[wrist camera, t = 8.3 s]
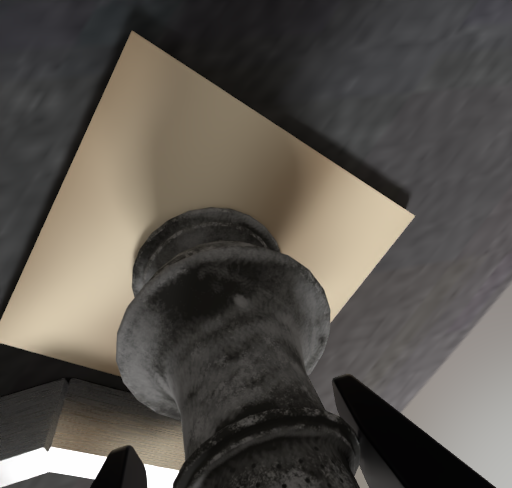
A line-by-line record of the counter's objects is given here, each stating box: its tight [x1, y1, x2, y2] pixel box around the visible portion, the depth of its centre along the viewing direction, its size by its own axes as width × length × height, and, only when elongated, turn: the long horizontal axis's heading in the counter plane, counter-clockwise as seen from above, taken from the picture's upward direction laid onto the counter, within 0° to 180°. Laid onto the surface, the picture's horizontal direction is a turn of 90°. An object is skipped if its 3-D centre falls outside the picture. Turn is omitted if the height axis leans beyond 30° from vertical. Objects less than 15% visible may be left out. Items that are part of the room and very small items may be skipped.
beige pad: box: [0, 31, 415, 376], centre depth 14 cm, size 11×11×1 cm
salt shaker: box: [116, 207, 361, 488], centre depth 8 cm, size 6×6×12 cm
